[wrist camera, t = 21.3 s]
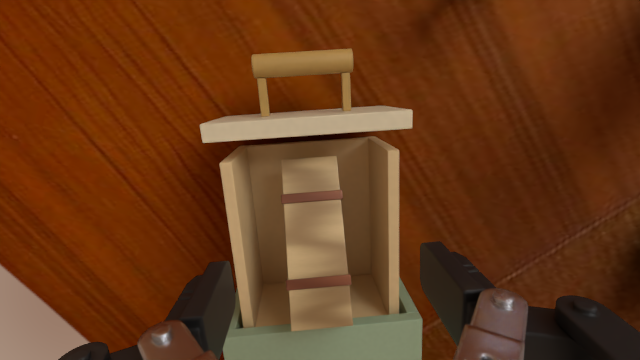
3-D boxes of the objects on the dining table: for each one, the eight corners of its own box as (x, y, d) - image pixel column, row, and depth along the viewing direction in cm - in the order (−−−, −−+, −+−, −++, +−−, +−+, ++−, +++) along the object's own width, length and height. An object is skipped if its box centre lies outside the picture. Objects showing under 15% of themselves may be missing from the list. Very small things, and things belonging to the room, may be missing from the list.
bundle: (348, 313, 26) (334, 169, 29) (355, 326, 22) (338, 154, 24) (292, 318, 26) (283, 173, 29) (288, 332, 22) (278, 159, 24)
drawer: (219, 63, 27) (187, 51, 19) (382, 53, 27) (413, 37, 20) (249, 285, 32) (234, 344, 25) (384, 273, 33) (410, 327, 25)
